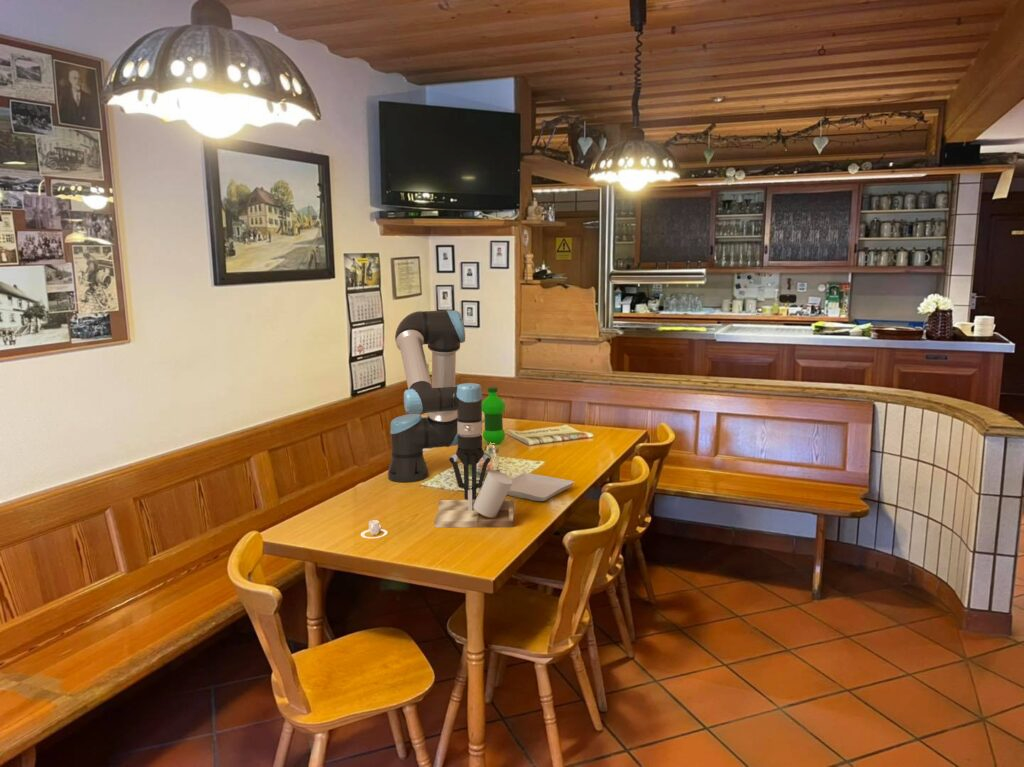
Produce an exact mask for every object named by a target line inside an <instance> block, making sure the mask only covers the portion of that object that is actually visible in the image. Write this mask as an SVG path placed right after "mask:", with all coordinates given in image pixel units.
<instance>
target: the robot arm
mask: <svg viewBox="0 0 1024 767" xmlns="http://www.w3.org/2000/svg"><path fill="white" fill-rule="evenodd" d="M394 339H395V340H394V341H395V345H396V348H397V349H398V350H399V351H400V354H401V359H402V365H403V369H404V374H405V379H406V384H407V389H405V390H404V392H403V405H404V410H405V412H406V413H407V414H404V415H399V416H397V417H395V418H393V419H392V420H391V422H390V431H389V433H390V442H391V445H390V446H391V460H390V463H389V467H388V470H387V478H388V480H390V481H392V482H397V483H412V482H418V481H423V480H425V479H427V478H428V477H429V468H428V465H427V463H426V459H425V458H424V453H423V452H424V449H434V448H443V447H445V448H449V447H454V446H457V450H456V452H455V454H453V455H451V456H450V457H449V458H448V461H449V462H450V463H451V465H452V468H453V473H454V476H455V479H456V482H457V487H458V488H459V489H463V492H464V494H463V496H464V497H463V498H464V500H468V511H472V510H473V500H475V499H476V496H477V490H478V489H480V488H481V487H482V484H483V482H484V480H485V477H486V476H485V475H486V470H487V467H488V466H489V463H490V462H491V461H492V459H491V456H490V455H486V454H485V451H484V450H483V411H482V402H483V393H482V391H483V390H482V385H481V384H479V383H473V382H466V383H460V384H456V366H457V365H456V360H457V358H456V357H457V354H456V353H457V352H458V351H459V350H460V349H461V344H463V343H465V342H466V329H465V325H464V320H463V317H462V314H461V313H460V311H458V310H449V309H446V310H427V311H426V310H425V311H421V310H420V311H419V310H418V311H414V312H412V313H410V314H408V315H406V316H405V317H404V318H403V319H401V321H400V322H399V324H398V325H397V328H396V329H395V335H394ZM424 345H427V349H428V350H429V351H431V377H430V372H429V367H428V363H427V360H426V359H427V358H426V354H425V350H424V347H423V346H424ZM421 414H427V417H422V415H421ZM481 459H482V462H483V464H482V468H481V471H480V475H479V478H478V477H477V475H478V474H477V466H478V463H480V461H481ZM458 460H459V461H460V462H461V463H462V465H463V477H462V474H461V470H460V468H459V464H458ZM469 466H471V487H470V476H469V475H470V474H469V473H470V472H469V471H470V470H469V469H470V468H469ZM477 478H478V480H477ZM477 481H478V482H477Z"/></svg>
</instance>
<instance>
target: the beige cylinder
mask: <svg viewBox="0 0 1024 767" xmlns="http://www.w3.org/2000/svg"><path fill="white" fill-rule="evenodd" d="M485 475H486V476H484V479H483V483H482V487H481V488H479V490H478V492H477V493H476V499H475V501H474V503H473V508H474V509H475V510H476V511H477V512H478V513H480V514H482V515H484V516H487V517H491V518H493V517H496V516H497V514H498V512H499V509H500V507H501V505H502V503H503V501H504V500H506V497H507V496H508V495H507V493H508V491H509V489H510V487H511V485H512V483H513V481H512V480H511V479H512V478H510V476H508V475H507V474H505V473H504V472H501V471H498V470H496V469H489V470H488V471H487V474H485Z"/></svg>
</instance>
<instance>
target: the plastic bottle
mask: <svg viewBox="0 0 1024 767" xmlns="http://www.w3.org/2000/svg"><path fill="white" fill-rule="evenodd" d="M487 392H488V396H487V397H485V399H483V400H482V413H483V415H484V418H483V419H484V430H483V431H482V439H484V441H485V442H487V443H490V442H491V443H495V444H496V445H499V444H501V442H503V440H504V439H505V437H506V432H505V430H504V428H503V427H504V426H503V424H504V423H503V413H504V412H505V410H506V404H505V401H504V400H503V399H502V398H500V397H499V396H498V395H497V392H498V387H497V386H489V387H487Z"/></svg>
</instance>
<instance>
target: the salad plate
mask: <svg viewBox="0 0 1024 767" xmlns="http://www.w3.org/2000/svg"><path fill="white" fill-rule="evenodd" d="M511 480H512V481H513V483H512V485H511V487H510V489H509V491H508V493H507V495H506V496H509V497H514V498H520V499H525V500H528V501H535V502H544V501H547V500H548V499H550V498H552V497H554V496H557V494H560V493H561V492H564V491H565V490H567V489H569V488H571V487H572V486H573V485H574V484H575V481H574V480H568V479H563V478H557V477H553V476H547V475H542V474H536V473H535V474H534V473H531V472H530V473H529V472H524V473H521V474H520V475H516V476H515V477H512V478H511Z"/></svg>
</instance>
